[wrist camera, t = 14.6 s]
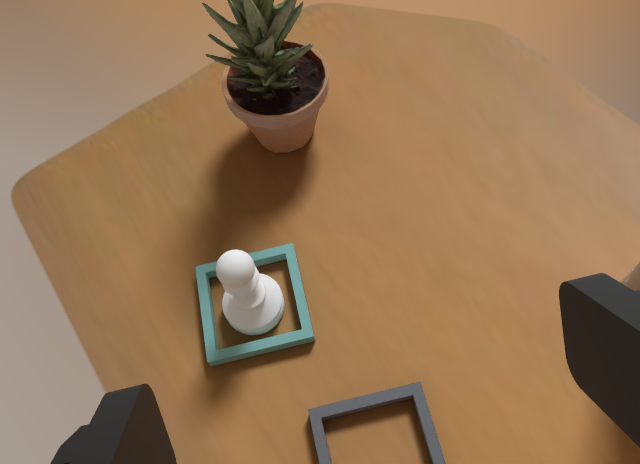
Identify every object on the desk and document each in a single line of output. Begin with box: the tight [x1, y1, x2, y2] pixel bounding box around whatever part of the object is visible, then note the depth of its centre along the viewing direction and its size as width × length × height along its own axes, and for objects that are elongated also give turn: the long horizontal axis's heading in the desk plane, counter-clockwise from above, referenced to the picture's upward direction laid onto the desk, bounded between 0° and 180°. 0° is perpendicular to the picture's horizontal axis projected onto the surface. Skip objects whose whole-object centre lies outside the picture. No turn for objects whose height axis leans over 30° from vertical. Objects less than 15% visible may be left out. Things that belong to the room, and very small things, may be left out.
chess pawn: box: [216, 250, 285, 335], centre depth 44 cm, size 5×5×9 cm
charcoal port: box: [308, 382, 446, 464], centre depth 41 cm, size 9×9×1 cm
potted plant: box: [202, 0, 328, 153], centre depth 47 cm, size 10×10×25 cm
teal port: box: [195, 243, 315, 366], centre depth 48 cm, size 9×9×1 cm
